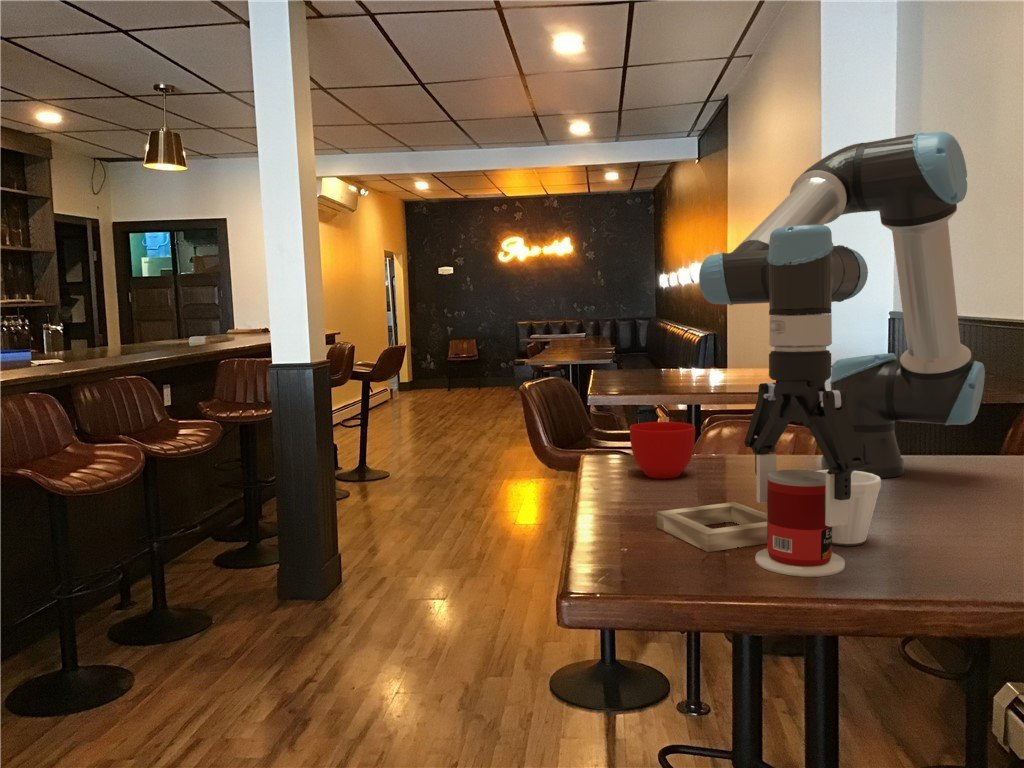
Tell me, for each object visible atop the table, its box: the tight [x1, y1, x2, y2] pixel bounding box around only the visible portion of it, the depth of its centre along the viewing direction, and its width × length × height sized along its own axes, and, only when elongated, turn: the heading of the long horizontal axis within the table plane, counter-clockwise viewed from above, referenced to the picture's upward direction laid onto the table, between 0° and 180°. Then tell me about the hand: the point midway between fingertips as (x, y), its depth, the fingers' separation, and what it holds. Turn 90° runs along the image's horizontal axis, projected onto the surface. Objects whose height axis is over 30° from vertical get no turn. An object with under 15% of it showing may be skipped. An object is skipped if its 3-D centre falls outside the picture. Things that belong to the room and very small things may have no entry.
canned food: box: [766, 469, 833, 567], centre depth 105 cm, size 8×8×11 cm
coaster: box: [754, 548, 846, 578], centre depth 105 cm, size 11×11×1 cm
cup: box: [816, 469, 882, 547], centre depth 114 cm, size 10×10×9 cm
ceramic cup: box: [629, 421, 696, 480], centre depth 164 cm, size 13×17×10 cm
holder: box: [656, 501, 767, 553], centre depth 120 cm, size 14×14×2 cm
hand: (799, 512), depth 105 cm, fingers open, 13 cm apart
